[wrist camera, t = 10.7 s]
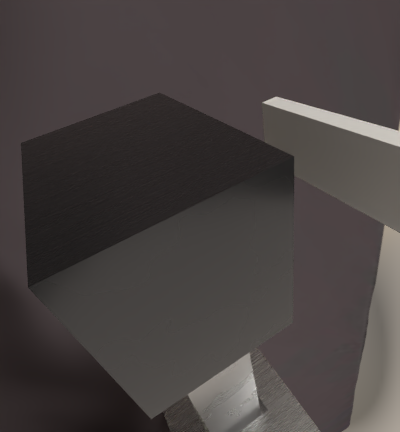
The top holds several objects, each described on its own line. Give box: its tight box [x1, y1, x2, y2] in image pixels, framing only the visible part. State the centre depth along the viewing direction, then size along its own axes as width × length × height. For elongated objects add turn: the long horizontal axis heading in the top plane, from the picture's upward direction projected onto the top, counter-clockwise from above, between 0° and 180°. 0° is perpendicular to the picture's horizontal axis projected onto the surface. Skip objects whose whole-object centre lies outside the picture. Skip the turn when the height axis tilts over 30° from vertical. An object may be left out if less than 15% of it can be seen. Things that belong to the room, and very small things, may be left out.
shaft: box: [21, 93, 294, 432], centre depth 17 cm, size 5×30×7 cm, turn 13°
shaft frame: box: [163, 347, 320, 432], centre depth 24 cm, size 10×36×14 cm, turn 13°
